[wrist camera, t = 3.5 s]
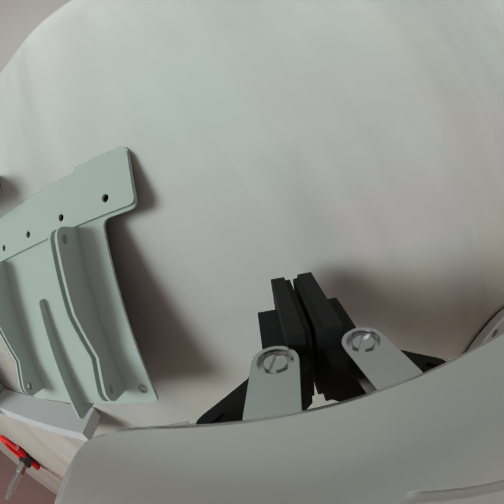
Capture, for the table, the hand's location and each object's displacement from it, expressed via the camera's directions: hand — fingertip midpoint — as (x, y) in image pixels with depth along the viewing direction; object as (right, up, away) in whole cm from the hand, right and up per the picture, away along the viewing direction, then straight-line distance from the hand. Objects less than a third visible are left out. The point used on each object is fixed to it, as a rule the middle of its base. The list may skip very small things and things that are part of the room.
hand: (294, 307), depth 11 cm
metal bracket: (-13, 0, +3) cm, 14 cm away
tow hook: (-46, -35, +13) cm, 60 cm away
